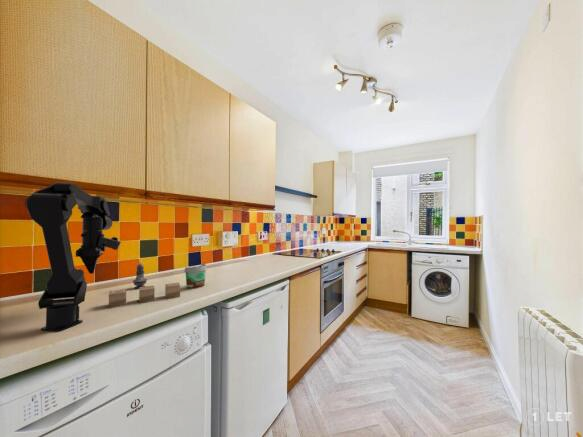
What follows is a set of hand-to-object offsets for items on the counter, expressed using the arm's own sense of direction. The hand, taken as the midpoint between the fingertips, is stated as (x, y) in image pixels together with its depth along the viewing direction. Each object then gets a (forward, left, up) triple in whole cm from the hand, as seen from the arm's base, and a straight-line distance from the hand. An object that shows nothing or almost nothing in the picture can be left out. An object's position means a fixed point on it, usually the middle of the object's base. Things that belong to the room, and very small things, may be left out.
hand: (91, 273), depth 86 cm
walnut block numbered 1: (+15, -22, -12) cm, 29 cm away
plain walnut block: (+9, -15, -12) cm, 21 cm away
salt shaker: (+26, +2, -12) cm, 29 cm away
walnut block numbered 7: (+3, -8, -12) cm, 15 cm away
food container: (+31, -25, -12) cm, 42 cm away
